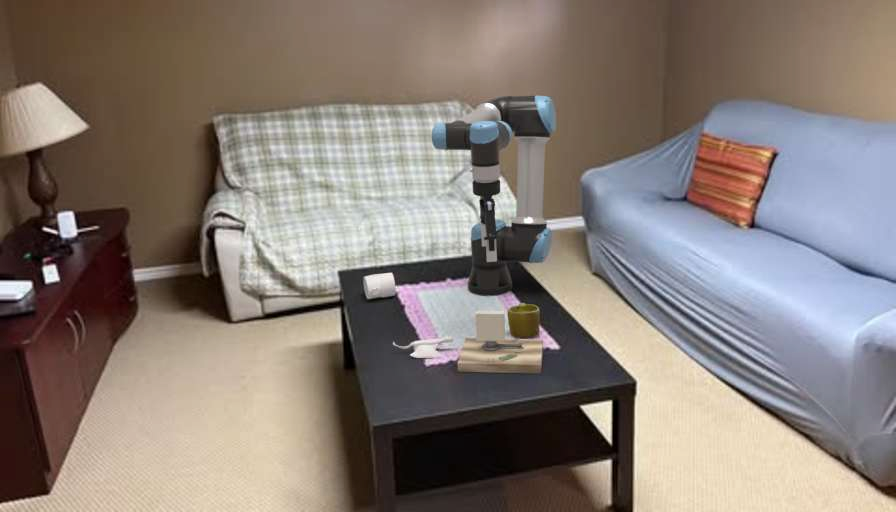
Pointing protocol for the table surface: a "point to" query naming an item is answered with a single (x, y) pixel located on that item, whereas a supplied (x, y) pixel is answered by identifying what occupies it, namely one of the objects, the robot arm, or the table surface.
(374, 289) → the white cylinder
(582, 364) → the table surface
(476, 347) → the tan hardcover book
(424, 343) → the winged dragon toy
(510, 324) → the mug
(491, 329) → the white upright block
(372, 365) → the table surface
